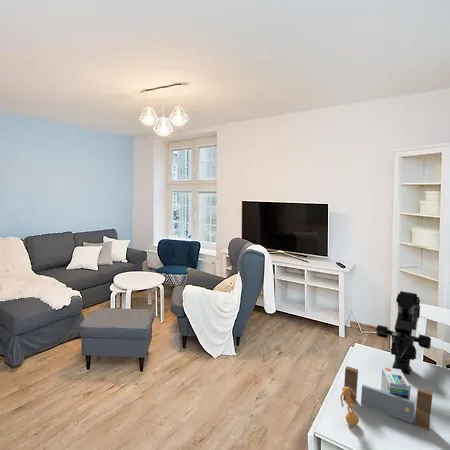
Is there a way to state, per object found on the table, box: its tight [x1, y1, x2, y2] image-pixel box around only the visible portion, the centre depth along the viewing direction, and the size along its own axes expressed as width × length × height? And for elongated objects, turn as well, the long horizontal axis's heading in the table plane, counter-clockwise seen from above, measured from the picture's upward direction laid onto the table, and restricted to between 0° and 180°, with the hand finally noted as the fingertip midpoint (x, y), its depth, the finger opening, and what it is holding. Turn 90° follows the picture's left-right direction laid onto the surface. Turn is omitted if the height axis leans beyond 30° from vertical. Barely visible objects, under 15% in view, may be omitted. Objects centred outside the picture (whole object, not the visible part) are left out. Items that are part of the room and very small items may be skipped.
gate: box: [360, 384, 416, 424], centre depth 110 cm, size 2×16×7 cm, turn 56°
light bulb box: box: [380, 366, 412, 400], centre depth 115 cm, size 11×7×11 cm, turn 168°
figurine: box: [339, 386, 360, 427], centre depth 106 cm, size 8×6×12 cm
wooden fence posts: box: [342, 365, 434, 431], centre depth 111 cm, size 2×26×12 cm, turn 56°
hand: (399, 357), depth 124 cm, fingers closed
